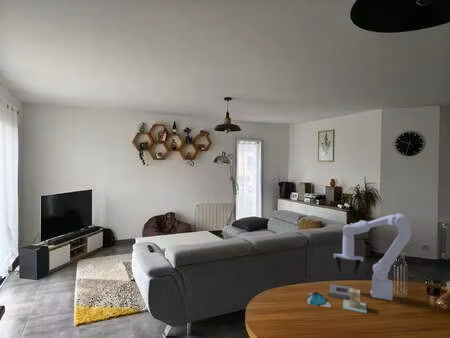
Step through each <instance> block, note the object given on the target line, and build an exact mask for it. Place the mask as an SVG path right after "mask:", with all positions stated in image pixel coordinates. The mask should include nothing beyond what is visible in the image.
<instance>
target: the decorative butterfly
mask: <svg viewBox="0 0 450 338" xmlns="http://www.w3.org/2000/svg"><path fill="white" fill-rule="evenodd" d="M322 293H324V292H322V291H321V293H319V291H315V292H310V293H307V296H305V300H306V302H307V303H308V304H307V305H309V306H317V307H318V306H319V307H326V308H332V305H331V304H330V302H328V300H327V299H326V297H325V295H324V294H322Z"/></svg>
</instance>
